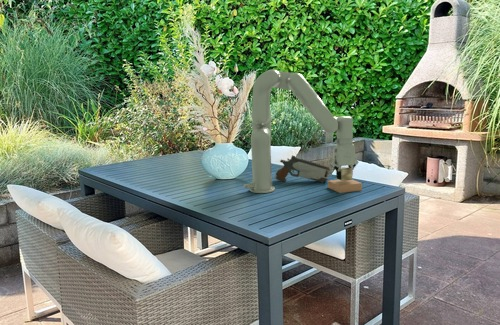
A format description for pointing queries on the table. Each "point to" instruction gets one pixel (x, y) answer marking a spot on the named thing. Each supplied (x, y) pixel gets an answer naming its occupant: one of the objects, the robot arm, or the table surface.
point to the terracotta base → (344, 185)
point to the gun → (303, 170)
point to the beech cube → (346, 174)
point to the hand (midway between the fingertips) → (344, 177)
